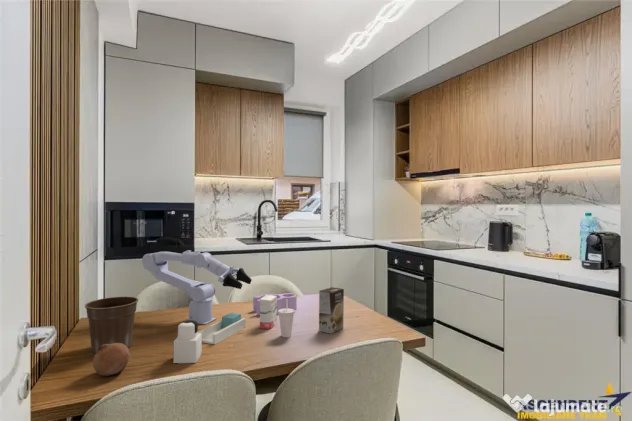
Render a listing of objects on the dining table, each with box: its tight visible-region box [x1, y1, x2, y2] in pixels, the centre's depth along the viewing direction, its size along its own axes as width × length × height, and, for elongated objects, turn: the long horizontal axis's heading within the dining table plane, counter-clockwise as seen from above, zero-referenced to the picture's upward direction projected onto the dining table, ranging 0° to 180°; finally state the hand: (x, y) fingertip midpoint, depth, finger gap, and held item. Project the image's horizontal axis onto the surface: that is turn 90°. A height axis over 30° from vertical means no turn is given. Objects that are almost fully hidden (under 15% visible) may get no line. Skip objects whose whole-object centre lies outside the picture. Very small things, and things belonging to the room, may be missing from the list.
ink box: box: [259, 294, 278, 330], centre depth 145 cm, size 9×5×12 cm, turn 168°
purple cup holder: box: [252, 292, 298, 316], centre depth 167 cm, size 20×12×7 cm, turn 114°
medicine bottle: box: [172, 319, 203, 364], centre depth 113 cm, size 7×7×12 cm
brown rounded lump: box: [92, 343, 131, 377], centre depth 103 cm, size 10×9×10 cm
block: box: [221, 312, 242, 328], centre depth 141 cm, size 6×5×4 cm
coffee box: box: [318, 287, 345, 335], centre depth 141 cm, size 9×6×16 cm
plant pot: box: [84, 296, 139, 354], centre depth 122 cm, size 16×16×16 cm
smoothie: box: [277, 299, 296, 338], centre depth 134 cm, size 6×6×14 cm
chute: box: [198, 317, 246, 345], centre depth 136 cm, size 20×8×4 cm, turn 160°
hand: (246, 284), depth 145 cm, fingers open, 7 cm apart
